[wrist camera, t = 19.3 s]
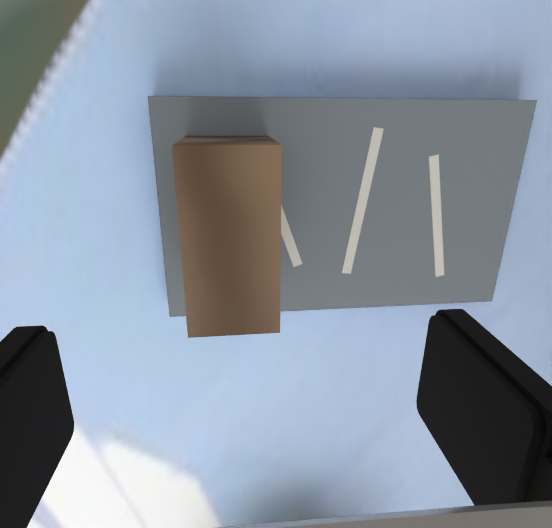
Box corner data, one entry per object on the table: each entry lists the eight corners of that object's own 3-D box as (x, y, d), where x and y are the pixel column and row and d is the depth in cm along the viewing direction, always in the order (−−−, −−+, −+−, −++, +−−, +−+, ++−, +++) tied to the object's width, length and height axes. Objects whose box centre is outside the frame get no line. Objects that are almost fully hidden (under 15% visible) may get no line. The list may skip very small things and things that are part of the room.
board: (519, 100, 25) (537, 100, 23) (479, 291, 30) (491, 301, 28) (152, 96, 22) (147, 95, 21) (172, 306, 27) (169, 317, 26)
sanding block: (268, 135, 22) (281, 145, 17) (268, 283, 26) (280, 332, 20) (185, 135, 22) (171, 145, 16) (196, 286, 25) (188, 337, 20)
